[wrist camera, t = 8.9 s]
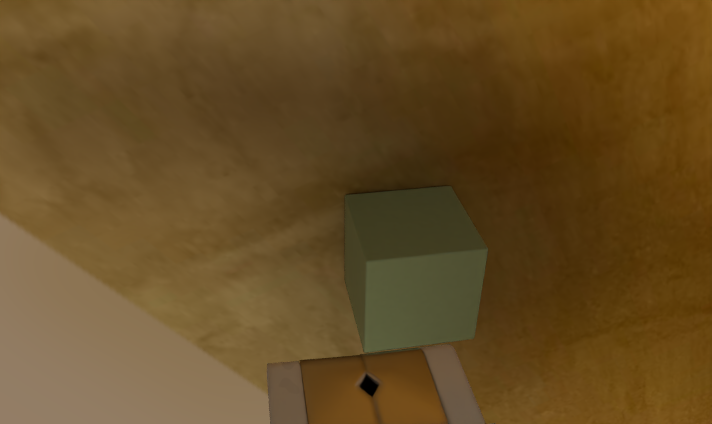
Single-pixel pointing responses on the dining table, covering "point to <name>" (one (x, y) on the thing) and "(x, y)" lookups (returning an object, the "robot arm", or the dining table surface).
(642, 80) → the dining table surface
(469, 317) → the block
